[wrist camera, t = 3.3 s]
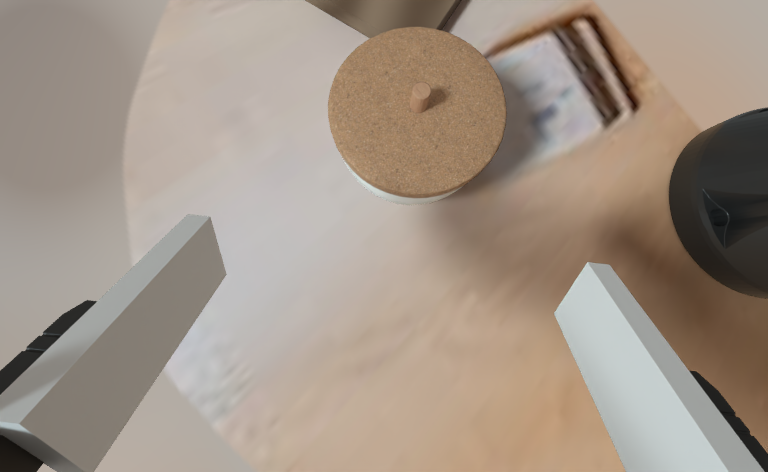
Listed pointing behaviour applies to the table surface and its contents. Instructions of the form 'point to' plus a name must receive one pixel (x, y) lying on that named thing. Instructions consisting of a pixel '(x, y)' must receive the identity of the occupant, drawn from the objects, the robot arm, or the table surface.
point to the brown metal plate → (388, 13)
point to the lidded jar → (416, 114)
